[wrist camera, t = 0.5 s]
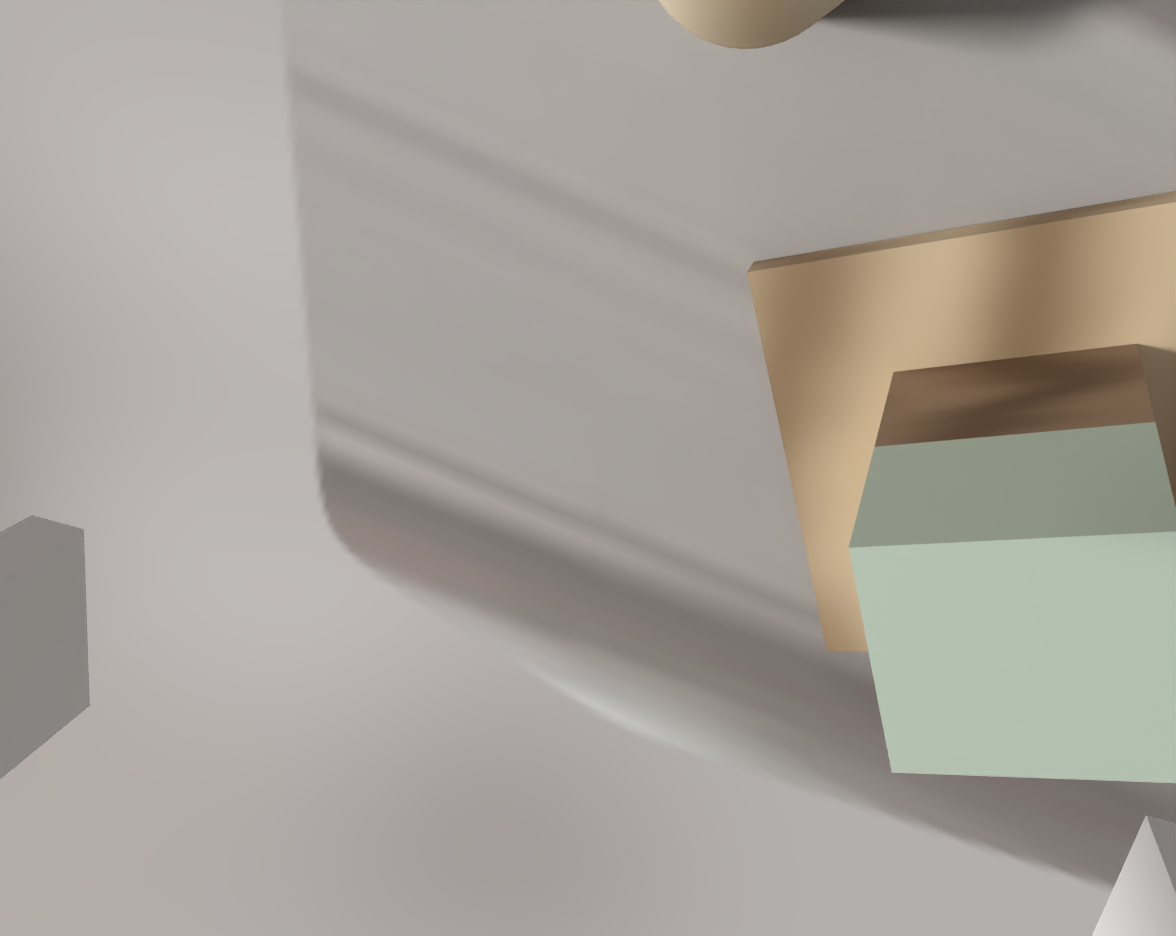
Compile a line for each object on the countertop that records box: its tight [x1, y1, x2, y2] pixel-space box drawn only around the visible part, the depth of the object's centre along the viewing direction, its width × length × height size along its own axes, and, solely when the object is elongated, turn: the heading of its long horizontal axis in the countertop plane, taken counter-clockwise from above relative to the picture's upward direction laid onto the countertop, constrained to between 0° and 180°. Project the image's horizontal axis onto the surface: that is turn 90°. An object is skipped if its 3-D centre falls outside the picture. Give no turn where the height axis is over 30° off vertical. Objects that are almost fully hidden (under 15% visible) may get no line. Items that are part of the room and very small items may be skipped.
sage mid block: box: [849, 422, 1176, 783], centre depth 26 cm, size 6×6×5 cm
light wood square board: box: [747, 191, 1176, 652], centre depth 32 cm, size 14×14×1 cm
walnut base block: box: [874, 344, 1155, 447], centre depth 30 cm, size 6×6×5 cm
